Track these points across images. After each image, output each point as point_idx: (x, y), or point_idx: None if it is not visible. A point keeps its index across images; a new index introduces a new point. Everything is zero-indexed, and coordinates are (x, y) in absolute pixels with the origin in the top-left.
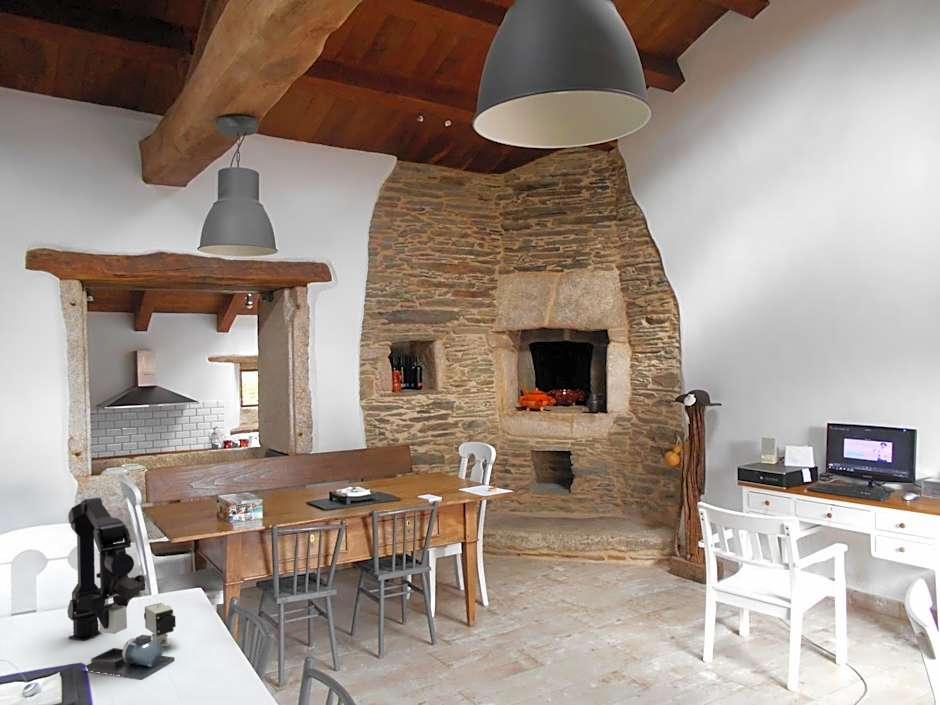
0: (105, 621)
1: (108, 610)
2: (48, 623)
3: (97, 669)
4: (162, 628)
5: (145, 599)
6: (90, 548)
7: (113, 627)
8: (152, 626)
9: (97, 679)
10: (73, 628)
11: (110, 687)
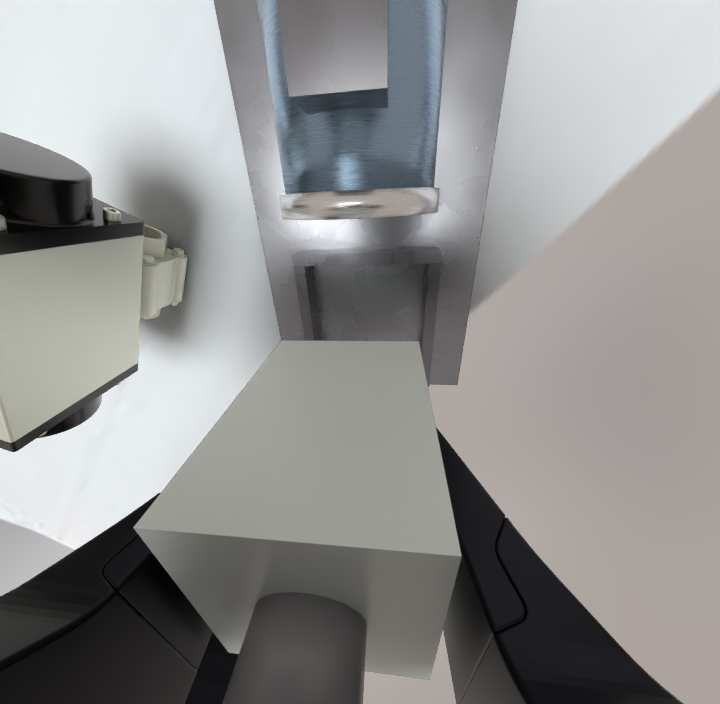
0: (474, 483)
1: (514, 652)
2: None
3: (467, 313)
4: (67, 169)
5: (49, 529)
6: None
7: (425, 376)
8: (109, 298)
9: (524, 257)
10: None
11: (632, 84)
